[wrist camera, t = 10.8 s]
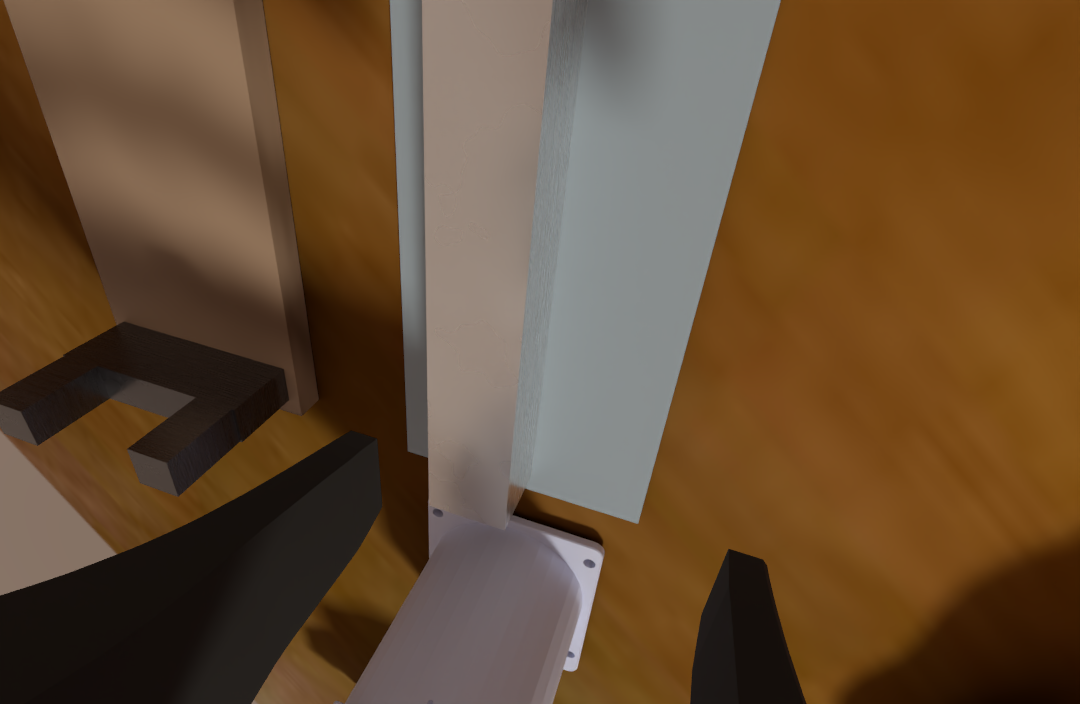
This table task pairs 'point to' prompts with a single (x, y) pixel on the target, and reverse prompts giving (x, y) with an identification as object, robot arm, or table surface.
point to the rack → (171, 225)
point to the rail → (492, 235)
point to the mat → (609, 229)
